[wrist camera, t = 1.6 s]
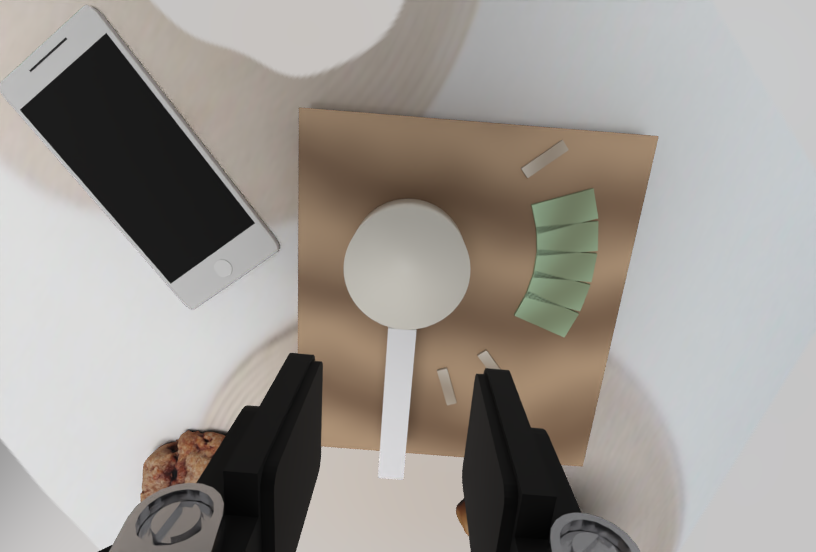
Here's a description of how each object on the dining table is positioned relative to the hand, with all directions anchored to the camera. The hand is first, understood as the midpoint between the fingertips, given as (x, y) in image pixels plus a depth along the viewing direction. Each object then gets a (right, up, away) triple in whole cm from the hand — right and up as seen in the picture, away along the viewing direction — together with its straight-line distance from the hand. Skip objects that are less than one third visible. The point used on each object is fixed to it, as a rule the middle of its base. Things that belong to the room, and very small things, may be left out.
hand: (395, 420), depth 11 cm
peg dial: (0, 0, +15) cm, 15 cm away
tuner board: (+3, +2, +17) cm, 18 cm away
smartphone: (-14, +9, +16) cm, 24 cm away
